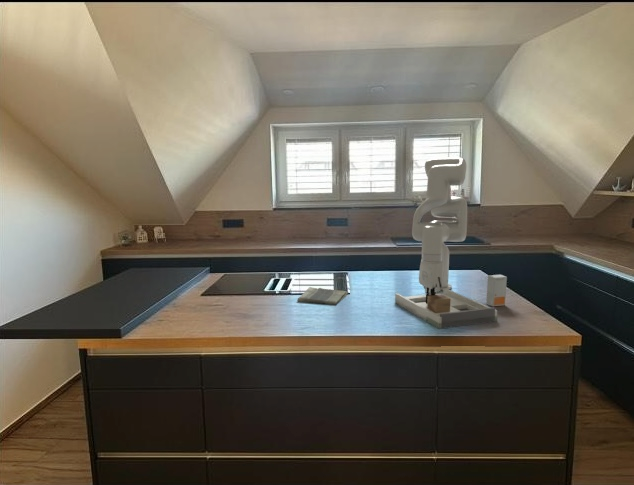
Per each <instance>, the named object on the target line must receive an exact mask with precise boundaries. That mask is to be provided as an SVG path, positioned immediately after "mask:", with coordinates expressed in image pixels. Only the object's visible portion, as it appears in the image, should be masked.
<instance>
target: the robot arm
mask: <svg viewBox="0 0 634 485" xmlns="http://www.w3.org/2000/svg"><path fill="white" fill-rule="evenodd" d="M424 170H425V174H426V177H427V183H426V184H427V187H426V195H425V196H426V197H425V200H424V201H422V202H421V204H419V205H418V207H417V208H416V210H415V211H414V214H413V219H412V229H411V235H412V238H413V240H415V241H418V242H421V260H420V265H419V272H418V284H420V285H421V286H423V288H424V292H425V293H424V294H425V295H426V304H427V296H431V295H435V294H437V293H441V291H443V288H446V289H448V290H451V289H452V284H450V283H449V270H450V268H449V266H450V249H449V247H448V246H447V245H446V244H445V243H447V242H454V243H458V242H459V243H461V242H462V243H463V242H464V241H465V240H466V238H467V233H468V232H467V230H468V203H467V200H466V198H465V197H462V196H452V195H451V189H452V186H461V185H463V184H464V182H465V179H466V176H467V174H466V173H467V162H466V160H465V158H463V157H437V158H436V157H435V158H430V159H427V160H426V161H425V163H424ZM428 212H430V214H431V216H432V217H434V218H445V219H448V218H450V219H456V220H440V219H439V220H437V219H436V220H432V221H429V222H426V221H425V222H421V219H422V217H423V216H424V215H425V214H427V213H428Z"/></svg>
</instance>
